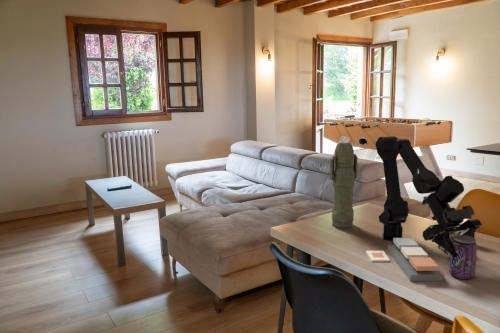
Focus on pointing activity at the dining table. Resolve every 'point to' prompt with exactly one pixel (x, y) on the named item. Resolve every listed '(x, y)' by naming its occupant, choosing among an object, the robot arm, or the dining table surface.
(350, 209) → the thermos
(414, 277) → the keypad board
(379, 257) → the card
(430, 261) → the terracotta key
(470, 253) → the beverage can
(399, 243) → the grey-blue key
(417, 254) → the off-white key
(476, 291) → the dining table surface
